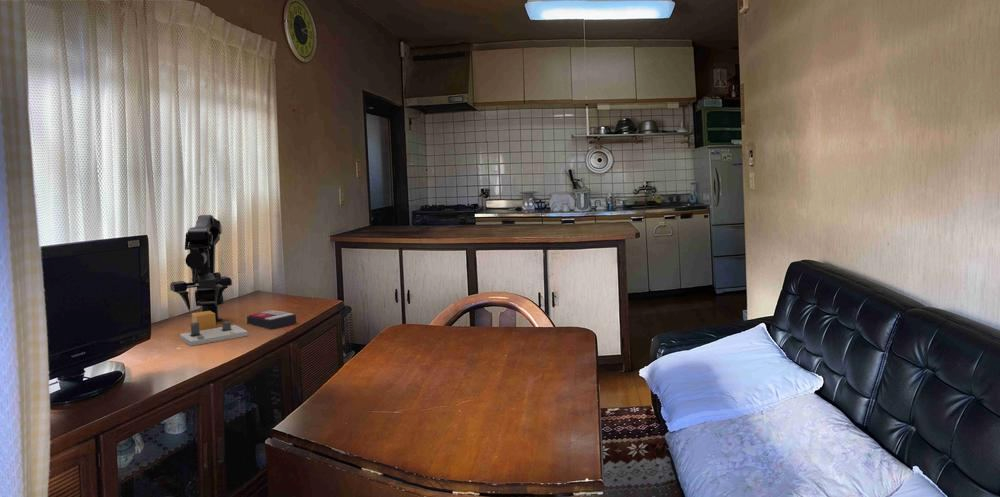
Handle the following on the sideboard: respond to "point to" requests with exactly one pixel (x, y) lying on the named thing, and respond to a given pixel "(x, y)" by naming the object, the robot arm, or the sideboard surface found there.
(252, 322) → the calculator
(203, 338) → the panel
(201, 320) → the light orange cube
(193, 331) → the breaker
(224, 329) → the lever
